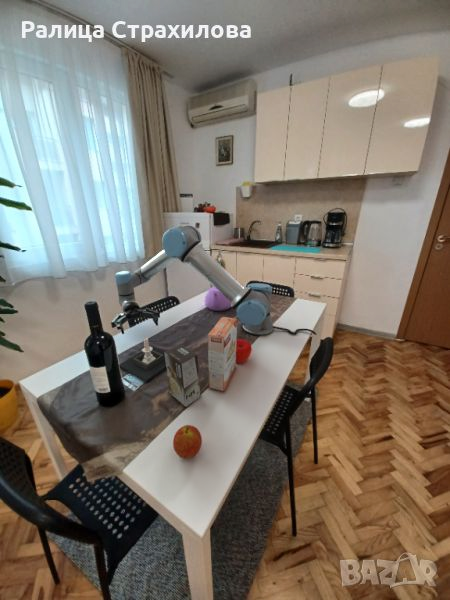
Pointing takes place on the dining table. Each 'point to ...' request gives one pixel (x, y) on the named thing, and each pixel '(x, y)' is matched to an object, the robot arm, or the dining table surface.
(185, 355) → the coffee box
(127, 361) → the socket pad
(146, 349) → the white tall tiered piece
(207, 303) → the teapot
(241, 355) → the apple
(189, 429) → the fruit
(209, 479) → the dining table surface
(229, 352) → the cracker box
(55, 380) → the dining table surface
